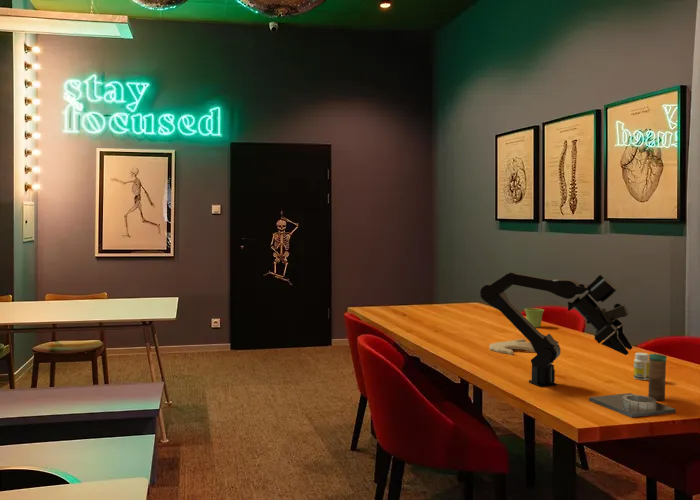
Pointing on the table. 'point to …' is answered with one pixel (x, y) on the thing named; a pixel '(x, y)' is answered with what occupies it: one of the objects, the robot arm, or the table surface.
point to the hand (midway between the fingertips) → (629, 351)
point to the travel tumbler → (657, 376)
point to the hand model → (511, 346)
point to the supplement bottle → (641, 366)
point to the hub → (632, 405)
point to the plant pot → (534, 316)
